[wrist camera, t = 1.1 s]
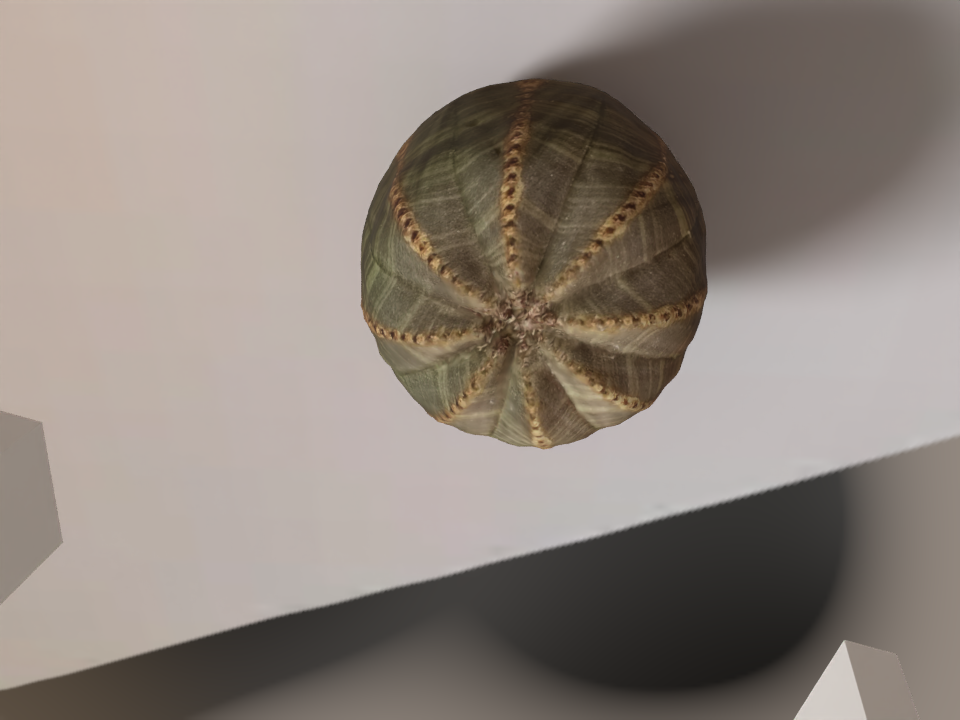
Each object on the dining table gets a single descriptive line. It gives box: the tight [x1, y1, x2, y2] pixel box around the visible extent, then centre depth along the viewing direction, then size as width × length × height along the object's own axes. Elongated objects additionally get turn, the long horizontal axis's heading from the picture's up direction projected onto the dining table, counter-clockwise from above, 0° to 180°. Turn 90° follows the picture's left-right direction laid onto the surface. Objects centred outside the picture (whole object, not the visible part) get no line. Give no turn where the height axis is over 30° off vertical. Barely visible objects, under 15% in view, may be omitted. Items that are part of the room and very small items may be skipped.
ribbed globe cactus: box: [361, 79, 707, 449], centre depth 24 cm, size 11×11×12 cm
